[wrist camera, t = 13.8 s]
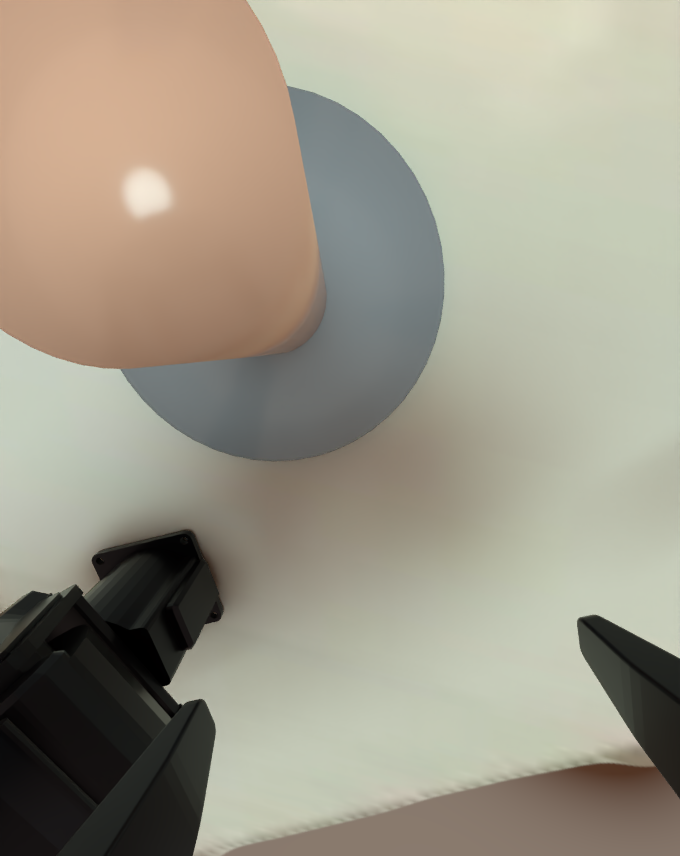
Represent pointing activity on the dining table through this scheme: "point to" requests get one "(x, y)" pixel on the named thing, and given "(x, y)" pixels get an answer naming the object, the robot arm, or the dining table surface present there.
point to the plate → (327, 310)
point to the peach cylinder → (151, 185)
